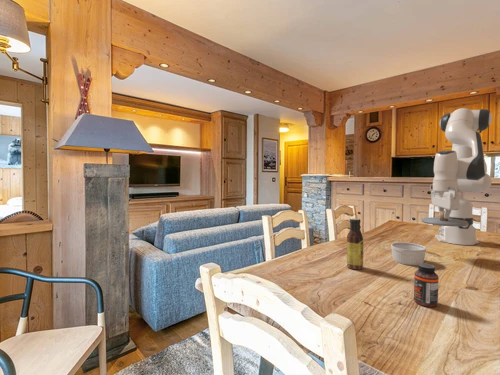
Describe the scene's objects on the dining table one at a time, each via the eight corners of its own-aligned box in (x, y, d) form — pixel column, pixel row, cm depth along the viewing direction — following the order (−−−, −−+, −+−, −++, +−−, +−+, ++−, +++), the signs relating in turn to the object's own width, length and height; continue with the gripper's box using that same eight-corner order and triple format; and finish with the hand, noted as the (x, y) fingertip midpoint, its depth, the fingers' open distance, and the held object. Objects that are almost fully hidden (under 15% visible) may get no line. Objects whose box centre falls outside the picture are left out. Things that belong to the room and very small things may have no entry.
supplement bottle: (409, 298, 83) (409, 262, 82) (427, 298, 83) (428, 261, 83) (423, 308, 77) (424, 269, 76) (442, 307, 77) (444, 268, 77)
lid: (416, 218, 133) (416, 208, 133) (457, 220, 129) (457, 209, 129) (429, 225, 117) (429, 214, 117) (476, 227, 113) (476, 215, 112)
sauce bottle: (364, 270, 107) (365, 220, 106) (347, 269, 108) (348, 220, 107) (361, 265, 113) (362, 218, 113) (345, 264, 115) (346, 217, 114)
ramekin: (413, 268, 109) (413, 251, 109) (383, 259, 121) (384, 244, 121) (432, 263, 116) (432, 247, 115) (402, 255, 127) (403, 240, 127)
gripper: (464, 188, 111) (463, 221, 112) (443, 185, 131) (442, 214, 132) (447, 188, 113) (446, 221, 114) (428, 185, 133) (428, 214, 133)
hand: (444, 217), depth 123 cm, fingers closed on lid, 3 cm apart
